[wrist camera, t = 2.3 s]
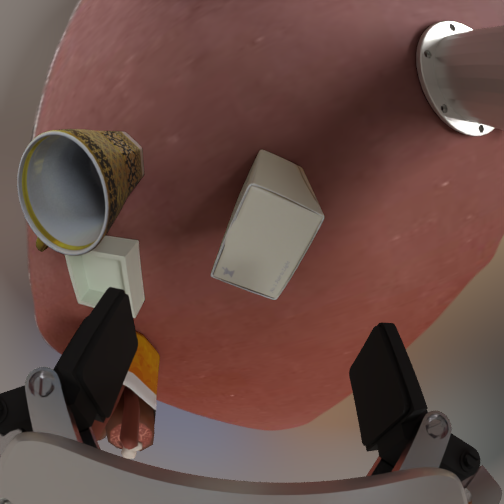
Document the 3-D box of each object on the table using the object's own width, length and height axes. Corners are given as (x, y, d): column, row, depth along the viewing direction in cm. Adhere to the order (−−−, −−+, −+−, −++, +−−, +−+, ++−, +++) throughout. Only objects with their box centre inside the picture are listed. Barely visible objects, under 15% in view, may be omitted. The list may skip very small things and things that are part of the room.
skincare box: (275, 222, 27) (276, 305, 17) (232, 204, 27) (207, 279, 16) (304, 165, 24) (330, 218, 14) (259, 144, 23) (248, 182, 13)
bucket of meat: (152, 388, 45) (124, 479, 28) (76, 343, 41) (31, 429, 24) (201, 340, 37) (168, 476, 20) (97, 276, 32) (17, 397, 15)
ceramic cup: (112, 95, 21) (44, 104, 13) (181, 159, 24) (134, 194, 16) (58, 186, 26) (1, 223, 18) (113, 241, 30) (68, 294, 21)
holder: (138, 240, 29) (125, 256, 26) (144, 299, 34) (135, 318, 31) (78, 231, 29) (62, 245, 26) (90, 287, 34) (78, 303, 31)
